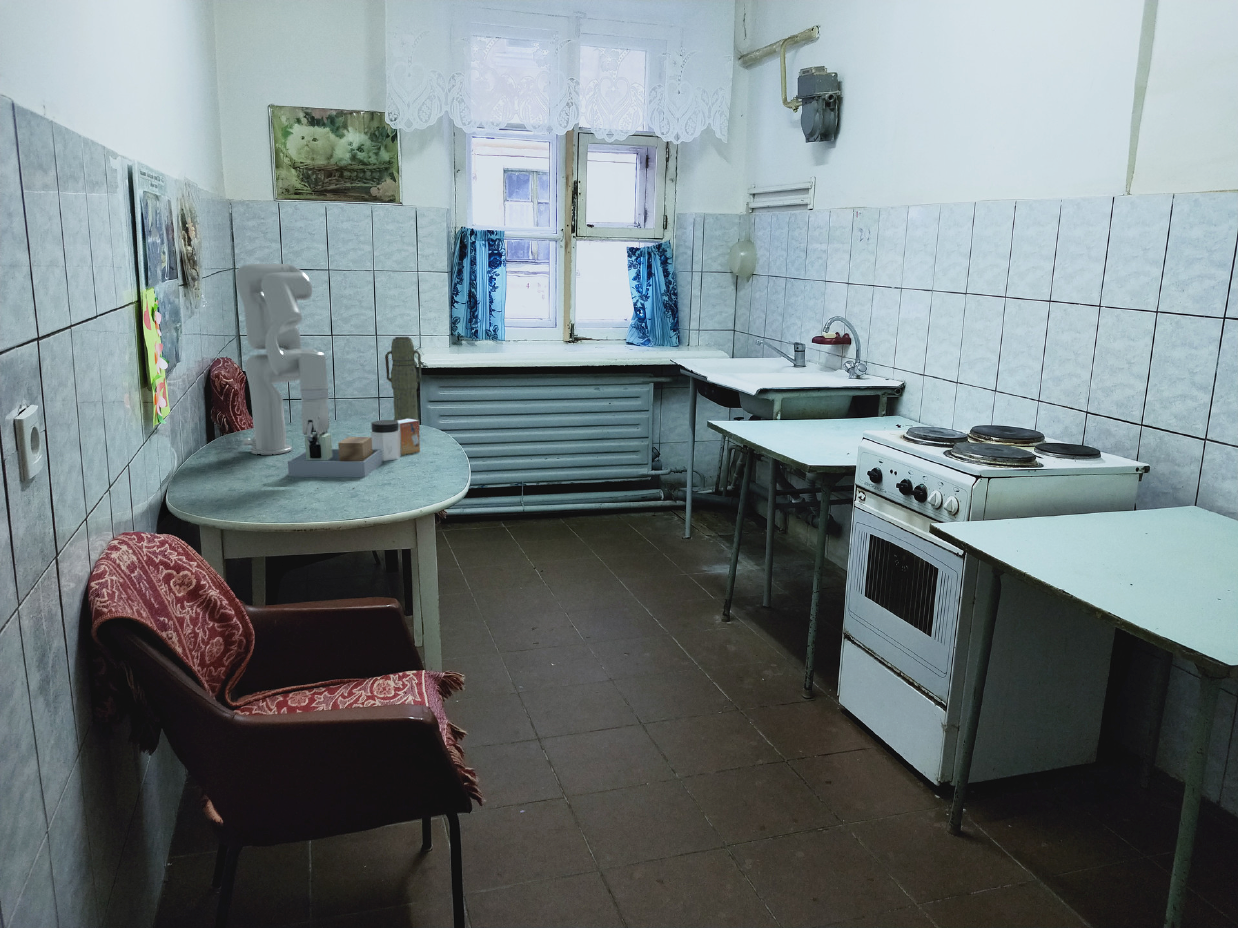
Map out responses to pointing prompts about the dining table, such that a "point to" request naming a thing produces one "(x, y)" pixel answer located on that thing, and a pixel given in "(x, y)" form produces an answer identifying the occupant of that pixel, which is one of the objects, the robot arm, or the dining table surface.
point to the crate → (333, 466)
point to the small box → (409, 436)
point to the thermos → (404, 378)
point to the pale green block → (325, 447)
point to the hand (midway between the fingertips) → (319, 455)
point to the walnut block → (355, 448)
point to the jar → (386, 438)
